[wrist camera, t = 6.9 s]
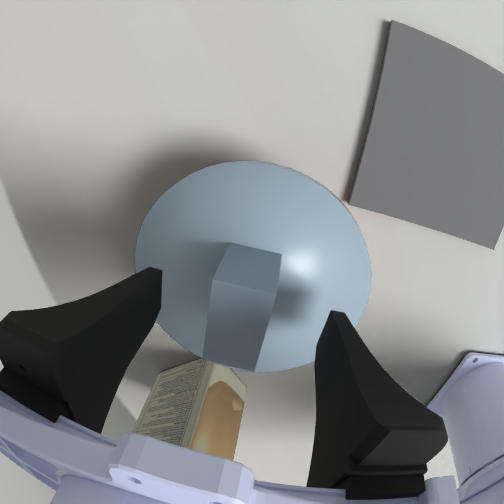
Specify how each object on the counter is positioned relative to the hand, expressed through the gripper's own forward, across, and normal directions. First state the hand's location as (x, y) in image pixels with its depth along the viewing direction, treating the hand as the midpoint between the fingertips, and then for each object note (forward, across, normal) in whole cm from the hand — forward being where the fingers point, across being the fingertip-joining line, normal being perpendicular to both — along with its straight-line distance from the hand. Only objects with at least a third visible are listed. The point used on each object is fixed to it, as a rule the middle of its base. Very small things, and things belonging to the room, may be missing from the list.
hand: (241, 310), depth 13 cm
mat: (+5, -9, -9) cm, 14 cm away
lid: (+2, 0, 0) cm, 2 cm away
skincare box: (+6, +2, +12) cm, 13 cm away
